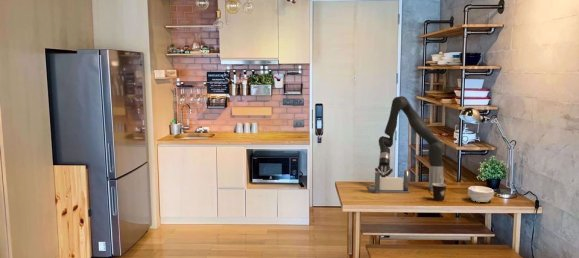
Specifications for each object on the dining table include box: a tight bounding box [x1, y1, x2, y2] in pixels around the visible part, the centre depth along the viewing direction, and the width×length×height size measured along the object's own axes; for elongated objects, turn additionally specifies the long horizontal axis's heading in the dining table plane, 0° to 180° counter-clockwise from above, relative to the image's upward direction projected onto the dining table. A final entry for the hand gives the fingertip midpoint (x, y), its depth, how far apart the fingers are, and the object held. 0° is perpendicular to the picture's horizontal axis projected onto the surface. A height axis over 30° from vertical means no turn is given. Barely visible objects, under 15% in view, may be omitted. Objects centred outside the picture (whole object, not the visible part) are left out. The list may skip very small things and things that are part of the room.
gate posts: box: [374, 169, 410, 194], centre depth 312 cm, size 23×3×15 cm, turn 95°
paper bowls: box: [467, 185, 495, 203], centre depth 292 cm, size 15×15×8 cm
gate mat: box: [367, 184, 411, 194], centre depth 321 cm, size 27×17×1 cm, turn 87°
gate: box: [380, 176, 404, 190], centre depth 314 cm, size 19×2×12 cm, turn 87°
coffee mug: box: [428, 183, 447, 202], centre depth 294 cm, size 12×9×10 cm
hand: (383, 180), depth 321 cm, fingers closed
